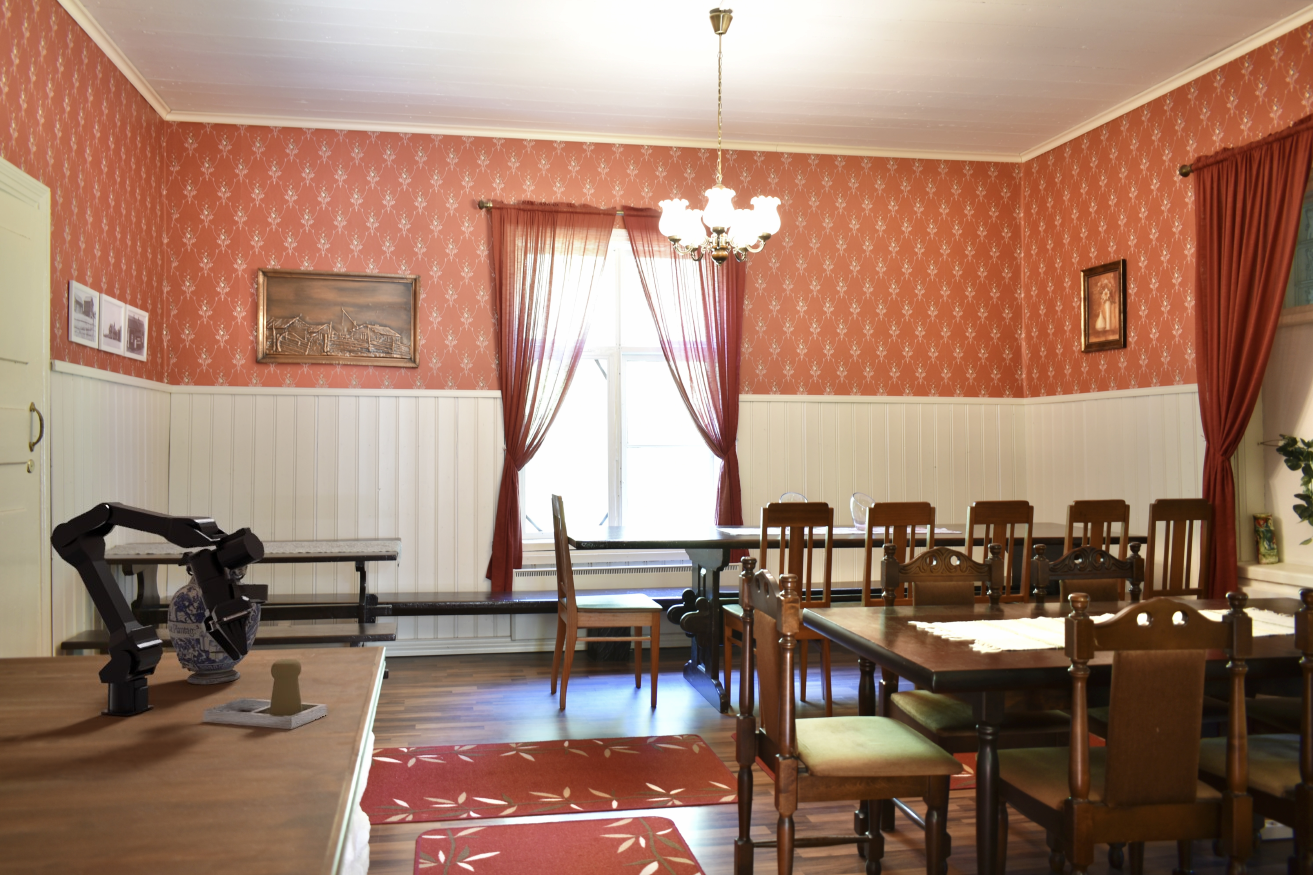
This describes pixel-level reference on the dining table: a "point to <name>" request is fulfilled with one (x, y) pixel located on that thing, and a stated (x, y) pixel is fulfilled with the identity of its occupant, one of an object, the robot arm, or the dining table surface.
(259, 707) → the grey divided tray
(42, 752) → the dining table surface
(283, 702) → the cork
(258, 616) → the decorative vase
